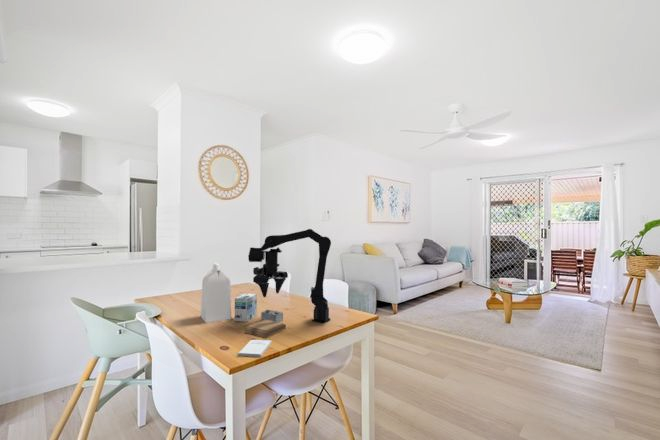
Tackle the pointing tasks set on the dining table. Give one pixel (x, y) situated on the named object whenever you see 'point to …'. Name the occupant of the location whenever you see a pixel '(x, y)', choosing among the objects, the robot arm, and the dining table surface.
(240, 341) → the dining table surface
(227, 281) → the milk
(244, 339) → the dining table surface
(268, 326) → the tray
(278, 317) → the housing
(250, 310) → the light bulb box
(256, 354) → the external hard drive
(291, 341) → the dining table surface
